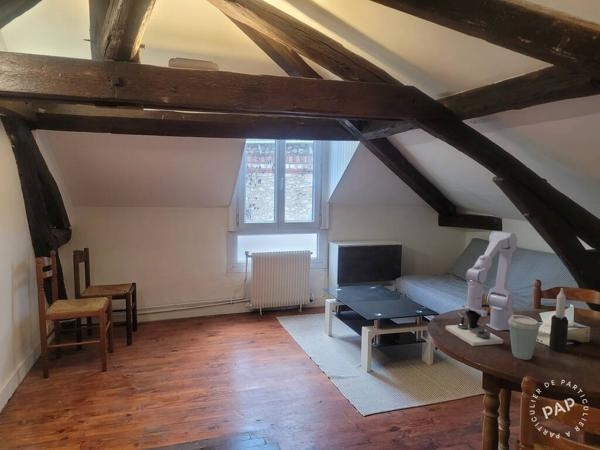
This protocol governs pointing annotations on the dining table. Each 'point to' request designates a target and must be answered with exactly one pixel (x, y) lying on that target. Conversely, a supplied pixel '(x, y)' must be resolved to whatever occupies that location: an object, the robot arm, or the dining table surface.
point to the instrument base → (473, 336)
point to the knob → (461, 321)
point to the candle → (559, 326)
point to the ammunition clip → (485, 304)
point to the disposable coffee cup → (523, 335)
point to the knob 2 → (480, 331)
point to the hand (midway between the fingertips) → (472, 328)
